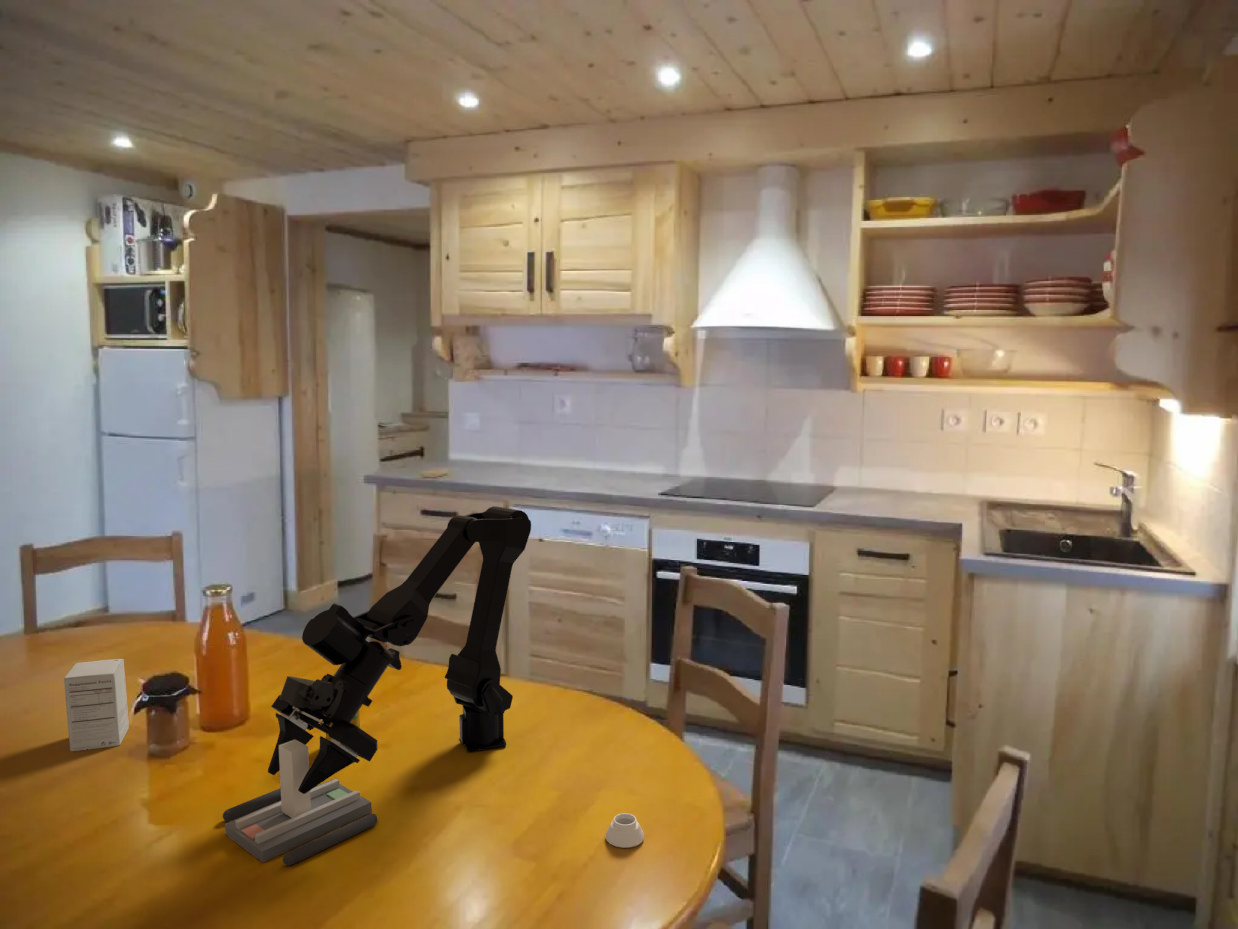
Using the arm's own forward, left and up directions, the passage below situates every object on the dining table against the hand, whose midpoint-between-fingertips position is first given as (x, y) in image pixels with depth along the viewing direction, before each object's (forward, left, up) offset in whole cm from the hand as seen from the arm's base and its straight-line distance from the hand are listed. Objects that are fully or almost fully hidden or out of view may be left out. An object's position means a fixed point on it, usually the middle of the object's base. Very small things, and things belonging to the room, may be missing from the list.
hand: (285, 783), depth 116 cm
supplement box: (+30, -39, -7) cm, 50 cm away
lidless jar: (-42, +18, -7) cm, 46 cm away
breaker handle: (-1, -1, -5) cm, 5 cm away
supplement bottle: (-8, -23, -7) cm, 26 cm away
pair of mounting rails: (-2, -1, -7) cm, 7 cm away
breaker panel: (-2, -1, -7) cm, 7 cm away
